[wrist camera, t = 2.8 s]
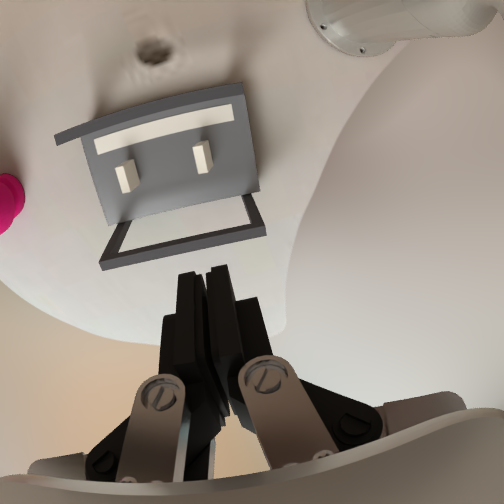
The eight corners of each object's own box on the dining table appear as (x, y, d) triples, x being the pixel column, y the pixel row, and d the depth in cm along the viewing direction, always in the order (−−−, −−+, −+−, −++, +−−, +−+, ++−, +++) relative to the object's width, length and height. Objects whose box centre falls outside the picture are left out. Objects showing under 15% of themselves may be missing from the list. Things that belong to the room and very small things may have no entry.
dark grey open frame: (230, 84, 31) (242, 82, 22) (249, 194, 38) (266, 235, 28) (94, 119, 30) (53, 135, 21) (124, 223, 37) (102, 271, 28)
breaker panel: (241, 93, 32) (244, 94, 29) (256, 183, 37) (260, 191, 35) (89, 132, 31) (79, 136, 28) (114, 215, 36) (108, 226, 34)
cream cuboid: (208, 140, 30) (202, 145, 28) (213, 165, 32) (208, 172, 30) (199, 141, 31) (192, 147, 29) (204, 166, 32) (198, 174, 30)
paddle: (133, 159, 30) (123, 166, 28) (140, 183, 31) (130, 191, 29) (125, 160, 30) (114, 168, 28) (132, 184, 32) (122, 193, 30)
